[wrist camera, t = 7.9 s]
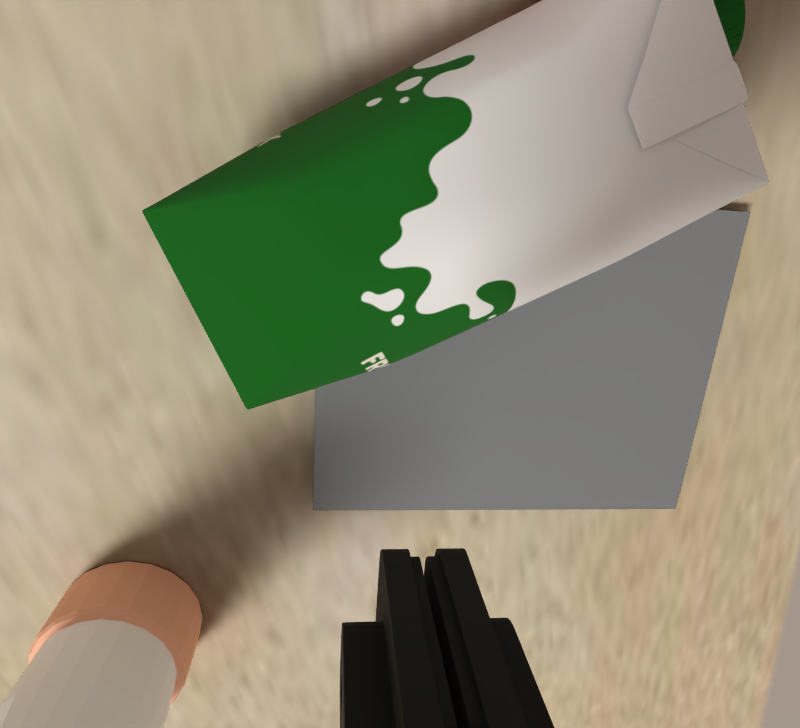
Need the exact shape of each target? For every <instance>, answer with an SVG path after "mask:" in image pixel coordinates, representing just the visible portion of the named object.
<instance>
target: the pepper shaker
mask: <svg viewBox="0 0 800 728" xmlns="http://www.w3.org/2000/svg"><path fill="white" fill-rule="evenodd" d="M202 619H203V616H202V612H201V608H200V603H199V600H198V598H197V597H196V596H195V594H194V593H193V591H192V590H191V588H190V587H189V585H188V584H186V583H185V582H184V581H183V580H181V579H180V578H179V577H177V576H176V575H175V574H173V573H172V572H170V571H167V570H165V569H162V568H160V567H157V566H155V565H152V564H146V563H138V562H130V561H126V562H119V563H111V564H105V565H102V566H100V567H98V568H95V569H93V570H91V571H88V572H86V573H85V574H83V575H82V576H81V577H80V578H79V579H78V580H76V581H75V582H74V583H73V584H72V585H71V586H70V587H69V589H68V590H67V592H66V593H65V595H64V596H63V598H62V599H61V601H60V602H59V604H58V605H57V607H56V608H55V610H54V611H53V613H52V614H51V616H50V617H49V619H48V620H47V622H46V623H45V625H44V626H43V628H42V629H41V631H40V632H39V634H38V636H37V637H36V639H35V641H34V643H33V645H32V647H31V649H30V651H29V659H28V666H27V668H26V669H25V671H24V672H23V674H22V675H21V676H20V678H19V679H18V681H17V682H16V684H15V685H14V687H13V688H12V690H11V691H10V693H9V694H8V695H7V697H6V698H5V700H4V701H3V703H2V704H1V706H0V728H163V727H164V723H165V720H166V716H167V713H168V709H169V706H170V704H171V703H172V702H173V701H174V700H175V699H176V697H177V696H178V694H179V692H180V691H181V689H182V688H183V686H184V684H185V681H186V678H187V675H188V671H189V668H190V665H191V661H192V658H193V655H194V652H195V648H196V645H197V642H198V638H199V635H200V630H201V624H202Z"/></svg>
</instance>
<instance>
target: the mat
mask: <svg viewBox="0 0 800 728" xmlns="http://www.w3.org/2000/svg"><path fill="white" fill-rule="evenodd" d="M749 214H750V212H741V211H727V210H715V211H713V212H711V213H709V214H708V215H706V216H704V217H702V218H700V219H698V220H696V221H694V222H692V223H690V224H688V225H686V226H685V227H683V228H681V229H679V230H677V231H675V232H673V233H671V234H669V235H667V236H666V237H664V238H662V239H660V240H658V241H656V242H654V243H652V244H650V245H648V246H647V247H645V248H643V249H641V250H639V251H637V252H635V253H633V254H631V255H629V256H627V257H625V258H623V259H621V260H619V261H617V262H615V263H613V264H611V265H609V266H607V267H604V268H602V269H600V270H598V271H596V272H594V273H591V274H589V275H587V276H585V277H583V278H581V279H578V280H576V281H574V282H572V283H570V284H568V285H565V286H563V287H561V288H559V289H557V290H554V291H552V292H550V293H548V294H546V295H543V296H541V297H539V298H537V299H535V300H532V301H530V302H528V303H526V304H524V305H521V306H519V307H517V308H515V309H513V310H511V311H508V312H506V313H504V314H502V315H500V316H497V317H495V318H493V319H491V320H489V321H486V322H484V323H482V324H480V325H478V326H475V327H473V328H471V329H469V330H467V331H464V332H462V333H460V334H458V335H456V336H453V337H451V338H449V339H447V340H445V341H442V342H440V343H438V344H436V345H434V346H431V347H429V348H427V349H425V350H422V351H420V352H418V353H416V354H413V355H411V356H409V357H406V358H404V359H402V360H400V361H397V362H394V363H392V364H389V365H387V366H384V367H381V368H378V369H375V370H372V371H369V372H365V373H362V374H359V375H356V376H353V377H350V378H346V379H343V380H340V381H337V382H334V383H331V384H327V385H324V386H321V387H318V388H316V391H315V439H314V486H313V510H521V509H676V506H677V502H678V498H679V494H680V490H681V486H682V482H683V478H684V474H685V470H686V466H687V462H688V458H689V454H690V450H691V446H692V442H693V438H694V434H695V430H696V426H697V422H698V418H699V414H700V410H701V406H702V402H703V398H704V394H705V390H706V386H707V382H708V378H709V374H710V370H711V366H712V362H713V358H714V354H715V350H716V346H717V342H718V338H719V334H720V330H721V326H722V322H723V318H724V314H725V310H726V306H727V302H728V298H729V294H730V290H731V286H732V282H733V278H734V274H735V270H736V266H737V262H738V258H739V254H740V250H741V246H742V242H743V238H744V234H745V230H746V226H747V222H748V218H749Z"/></svg>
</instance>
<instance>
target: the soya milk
mask: <svg viewBox="0 0 800 728" xmlns="http://www.w3.org/2000/svg"><path fill="white" fill-rule="evenodd" d="M744 25H745V1H744V0H541V1H540V2H538V3H536V4H534V5H532V6H530V7H528V8H526V9H524V10H522V11H520V12H518V13H516V14H515V15H513V16H511V17H509V18H507V19H505V20H503V21H501V22H499V23H497V24H495V25H493V26H491V27H489V28H487V29H485V30H483V31H481V32H479V33H477V34H475V35H473V36H471V37H469V38H467V39H465V40H463V41H461V42H459V43H457V44H455V45H453V46H451V47H449V48H447V49H445V50H443V51H441V52H439V53H437V54H435V55H433V56H431V57H429V58H427V59H425V60H423V61H421V62H419V63H417V64H415V65H413V66H411V67H409V68H407V69H405V70H403V71H401V72H399V73H397V74H395V75H393V76H391V77H389V78H387V79H385V80H383V81H381V82H379V83H377V84H375V85H373V86H371V87H369V88H367V89H365V90H363V91H361V92H359V93H357V94H355V95H354V96H352V97H350V98H348V99H346V100H344V101H342V102H340V103H338V104H336V105H334V106H332V107H330V108H328V109H326V110H324V111H322V112H320V113H318V114H316V115H314V116H312V117H310V118H308V119H306V120H304V121H302V122H300V123H298V124H296V125H294V126H292V127H290V128H288V129H286V130H285V131H283V132H281V133H279V134H277V135H275V136H273V137H271V138H270V139H268V140H266V141H264V142H263V143H261V144H259V145H257V146H255V147H254V148H252V149H250V150H248V151H247V152H245V153H243V154H241V155H240V156H238V157H236V158H234V159H233V160H231V161H229V162H227V163H226V164H224V165H222V166H220V167H219V168H217V169H215V170H213V171H211V172H210V173H208V174H206V175H204V176H203V177H201V178H199V179H197V180H196V181H194V182H192V183H190V184H189V185H187V186H185V187H183V188H182V189H180V190H178V191H176V192H175V193H173V194H171V195H169V196H168V197H166V198H164V199H162V200H161V201H159V202H157V203H155V204H153V205H152V206H150V207H148V208H146V209H144V210H143V214H144V216H145V218H146V220H147V221H148V223H149V225H150V227H151V229H152V231H153V233H154V235H155V237H156V239H157V240H158V242H159V244H160V246H161V248H162V250H163V252H164V254H165V256H166V257H167V259H168V261H169V263H170V265H171V267H172V269H173V271H174V273H175V274H176V276H177V278H178V280H179V282H180V284H181V286H182V288H183V290H184V291H185V293H186V295H187V297H188V299H189V301H190V303H191V305H192V307H193V308H194V310H195V312H196V314H197V316H198V318H199V320H200V322H201V324H202V326H203V327H204V329H205V331H206V333H207V335H208V337H209V339H210V341H211V343H212V344H213V346H214V348H215V350H216V352H217V354H218V356H219V358H220V360H221V361H222V363H223V365H224V367H225V369H226V371H227V373H228V375H229V377H230V378H231V380H232V382H233V384H234V386H235V388H236V390H237V392H238V394H239V395H240V397H241V399H242V401H243V403H244V405H245V407H246V408H247V409H252V408H255V407H258V406H261V405H264V404H267V403H270V402H273V401H276V400H280V399H283V398H286V397H289V396H292V395H296V394H299V393H302V392H305V391H308V390H311V389H315V388H318V387H321V386H324V385H327V384H331V383H334V382H337V381H340V380H343V379H346V378H350V377H353V376H356V375H359V374H362V373H365V372H369V371H372V370H375V369H378V368H381V367H384V366H387V365H389V364H392V363H394V362H397V361H400V360H402V359H404V358H406V357H409V356H411V355H413V354H416V353H418V352H420V351H422V350H425V349H427V348H429V347H431V346H434V345H436V344H438V343H440V342H442V341H445V340H447V339H449V338H451V337H453V336H456V335H458V334H460V333H462V332H464V331H467V330H469V329H471V328H473V327H475V326H478V325H480V324H482V323H484V322H486V321H489V320H491V319H493V318H495V317H497V316H500V315H502V314H504V313H506V312H508V311H511V310H513V309H515V308H517V307H519V306H521V305H524V304H526V303H528V302H530V301H532V300H535V299H537V298H539V297H541V296H543V295H546V294H548V293H550V292H552V291H554V290H557V289H559V288H561V287H563V286H565V285H568V284H570V283H572V282H574V281H576V280H578V279H581V278H583V277H585V276H587V275H589V274H591V273H594V272H596V271H598V270H600V269H602V268H604V267H607V266H609V265H611V264H613V263H615V262H617V261H619V260H621V259H623V258H625V257H627V256H629V255H631V254H633V253H635V252H637V251H639V250H641V249H643V248H645V247H647V246H648V245H650V244H652V243H654V242H656V241H658V240H660V239H662V238H664V237H666V236H667V235H669V234H671V233H673V232H675V231H677V230H679V229H681V228H683V227H685V226H686V225H688V224H690V223H692V222H694V221H696V220H698V219H700V218H702V217H704V216H706V215H708V214H709V213H711V212H713V211H715V210H717V209H719V208H721V207H723V206H725V205H727V204H729V203H731V202H733V201H735V200H737V199H738V198H740V197H742V196H744V195H746V194H748V193H750V192H752V191H754V190H756V189H758V188H760V187H762V186H764V185H766V184H768V183H769V179H768V176H767V173H766V170H765V167H764V164H763V161H762V158H761V155H760V152H759V149H758V146H757V143H756V140H755V137H754V134H753V131H752V128H751V125H750V122H749V119H748V116H747V113H746V110H745V107H744V104H743V102H745V101H747V100H748V95H747V91H746V87H745V84H744V81H743V78H742V75H741V73H740V70H739V67H738V65H737V63H736V62H734V60H733V57H734V55H735V54H736V52H737V50H738V48H739V45H740V43H741V40H742V36H743V32H744Z"/></svg>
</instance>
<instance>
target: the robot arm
mask: <svg viewBox="0 0 800 728" xmlns="http://www.w3.org/2000/svg"><path fill="white" fill-rule="evenodd" d="M340 728H554V726H553V723H552V721H551V718H550V716H549V713H548V711H547V708H546V706H545V703H544V701H543V698H542V696H541V694H540V691H539V689H538V686H537V684H536V681H535V679H534V676H533V674H532V671H531V669H530V666H529V664H528V661H527V659H526V656H525V654H524V651H523V649H522V646H521V644H520V641H519V639H518V636H517V634H516V631H515V629H514V627H513V625H512V623H511V621H510V620H509V619H508V618H490V617H489V615H488V612H487V609H486V606H485V603H484V601H483V598H482V595H481V592H480V589H479V586H478V584H477V581H476V578H475V575H474V572H473V570H472V567H471V564H470V561H469V558H468V555H467V553H466V551H465V549H463V548H459V549H437V550H436V552H435V556H428V557H426V561H425V571H424V575H423V570H422V566H421V561H420V558H419V557H410V553H409V550H408V549H381V552H380V562H379V578H378V593H377V608H376V622H347V623H342V635H341V659H340Z"/></svg>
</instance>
